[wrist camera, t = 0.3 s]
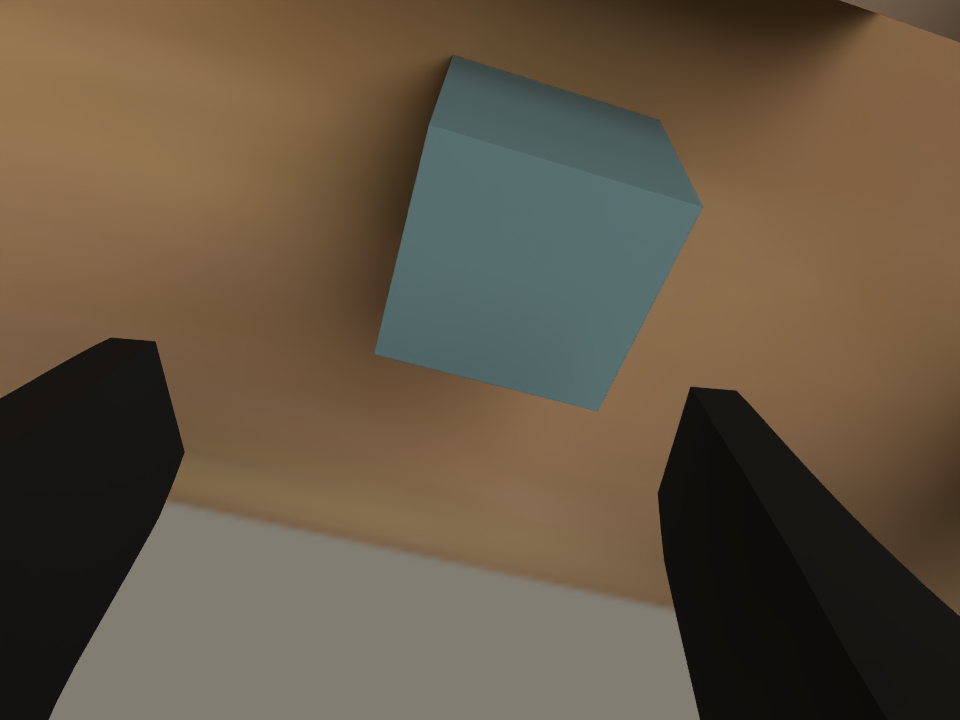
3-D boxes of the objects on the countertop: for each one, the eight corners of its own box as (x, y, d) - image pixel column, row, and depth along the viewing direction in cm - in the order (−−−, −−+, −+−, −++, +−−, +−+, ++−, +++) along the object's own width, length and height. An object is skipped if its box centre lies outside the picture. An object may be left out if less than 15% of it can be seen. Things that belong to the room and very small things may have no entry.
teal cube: (659, 118, 16) (702, 206, 12) (582, 293, 19) (597, 411, 15) (453, 53, 16) (428, 124, 12) (406, 245, 19) (373, 354, 15)
